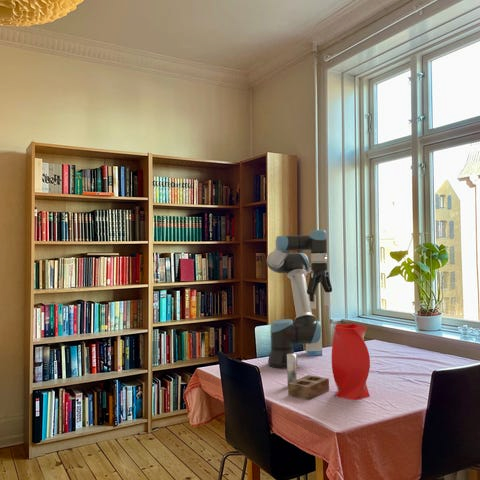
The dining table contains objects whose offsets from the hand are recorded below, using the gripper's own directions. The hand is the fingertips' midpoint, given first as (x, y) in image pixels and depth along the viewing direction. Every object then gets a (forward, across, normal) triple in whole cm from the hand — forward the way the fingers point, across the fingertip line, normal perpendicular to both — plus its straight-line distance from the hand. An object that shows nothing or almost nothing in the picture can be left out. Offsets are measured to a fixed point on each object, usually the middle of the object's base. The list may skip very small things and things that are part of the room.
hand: (320, 307), depth 219 cm
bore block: (+32, -26, -8) cm, 43 cm away
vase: (+33, -18, -23) cm, 44 cm away
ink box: (+33, +40, +28) cm, 59 cm away
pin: (+33, -22, +2) cm, 40 cm away
